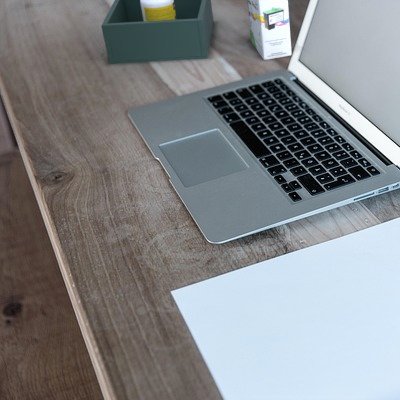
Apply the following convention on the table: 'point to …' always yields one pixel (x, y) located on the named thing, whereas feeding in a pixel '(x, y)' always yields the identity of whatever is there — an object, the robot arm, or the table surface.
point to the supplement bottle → (158, 10)
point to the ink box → (270, 27)
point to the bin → (157, 33)
